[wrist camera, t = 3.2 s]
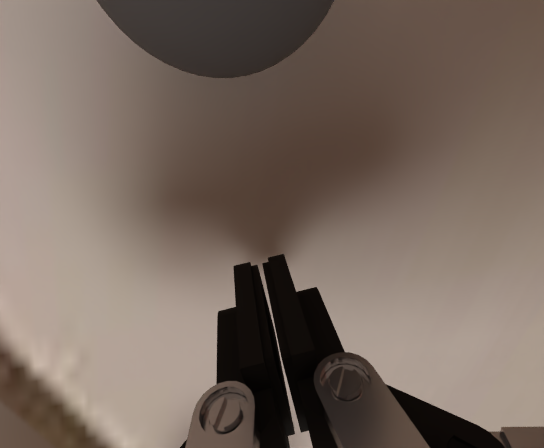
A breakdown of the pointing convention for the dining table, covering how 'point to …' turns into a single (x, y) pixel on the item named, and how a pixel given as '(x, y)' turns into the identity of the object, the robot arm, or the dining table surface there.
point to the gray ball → (218, 31)
